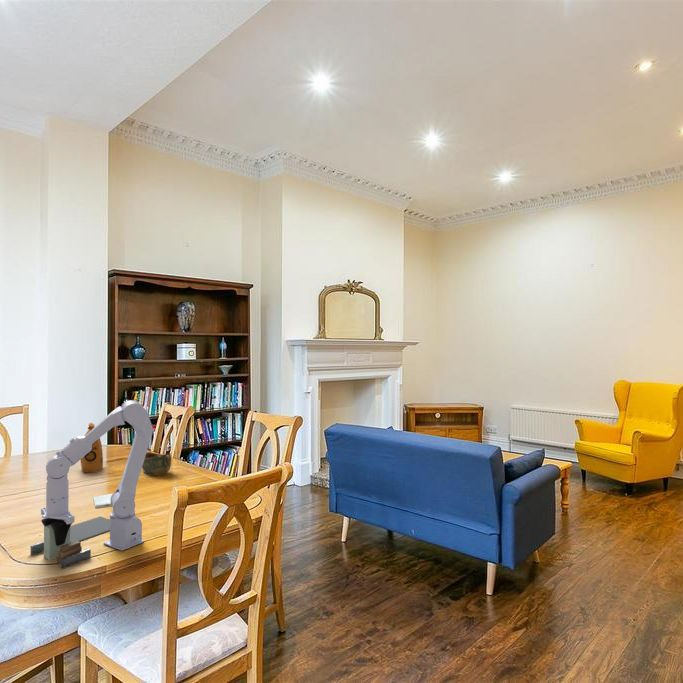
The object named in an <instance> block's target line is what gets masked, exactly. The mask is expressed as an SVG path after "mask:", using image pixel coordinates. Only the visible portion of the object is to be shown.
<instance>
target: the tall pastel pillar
mask: <svg viewBox="0 0 683 683" xmlns="http://www.w3.org/2000/svg"><path fill="white" fill-rule="evenodd" d="M43 526H44V525H43ZM43 541H44V551H43V558H44V559H47V560H53V559H55V558H57V557H59V551H60V546H63V545H65V544H68V543H70V528H69V530H68V533H67V537H66V540H65V543H64V544H62V545H59V546H57V545H56V542H55V534H54V530H53V528H52V526H51V524H50V525H47V526H44V527H43Z"/></svg>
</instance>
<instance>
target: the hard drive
mask: <svg viewBox="0 0 683 683" xmlns="http://www.w3.org/2000/svg"><path fill="white" fill-rule="evenodd" d="M112 495H113V493H108V494H102V495H95V496H92V500H93V505H94V508H95V509H100V508H101V509H102V508H107V507H112V505H111V501H110V500H111V496H112Z"/></svg>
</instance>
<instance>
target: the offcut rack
mask: <svg viewBox="0 0 683 683" xmlns="http://www.w3.org/2000/svg"><path fill="white" fill-rule="evenodd" d="M91 551H92V550H91V548H87V549H84V550H82V551H81V552H78V553H75V554H73V555H70V556H67V557H65V558H62V559H61V565H60V569H62V570H63V569H66V568H69V567H71V566H74V565H76V564H78V563H81V562H85V561H87V560H89V559H91ZM41 552H44V540H43V541H40V542H37V543H34V544H31V545H30V555H32V556H33V555H35V554H39V553H41Z"/></svg>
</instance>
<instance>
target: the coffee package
mask: <svg viewBox="0 0 683 683" xmlns="http://www.w3.org/2000/svg"><path fill="white" fill-rule="evenodd" d="M94 427H95V423H93V422H90V423H88V427H87V431H86V433H85V434H84V436H86V435H87V434H88V433H89V432H90V431H91V430H92V429H93V428H94ZM102 446H103V445H102V441H101V437H100V438H99V439H98V440H96V441H95V442H94V443H93V444H92V450H91V451H90V452H89V453H87V454H86V455H85V456H84V457H83V458H82V459H80V466H81V472H82V473H85V474H86V473H96V472H97V473H98V472H101V470H102V469H103V466H104V456H103V455H104V453H103V447H102Z"/></svg>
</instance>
